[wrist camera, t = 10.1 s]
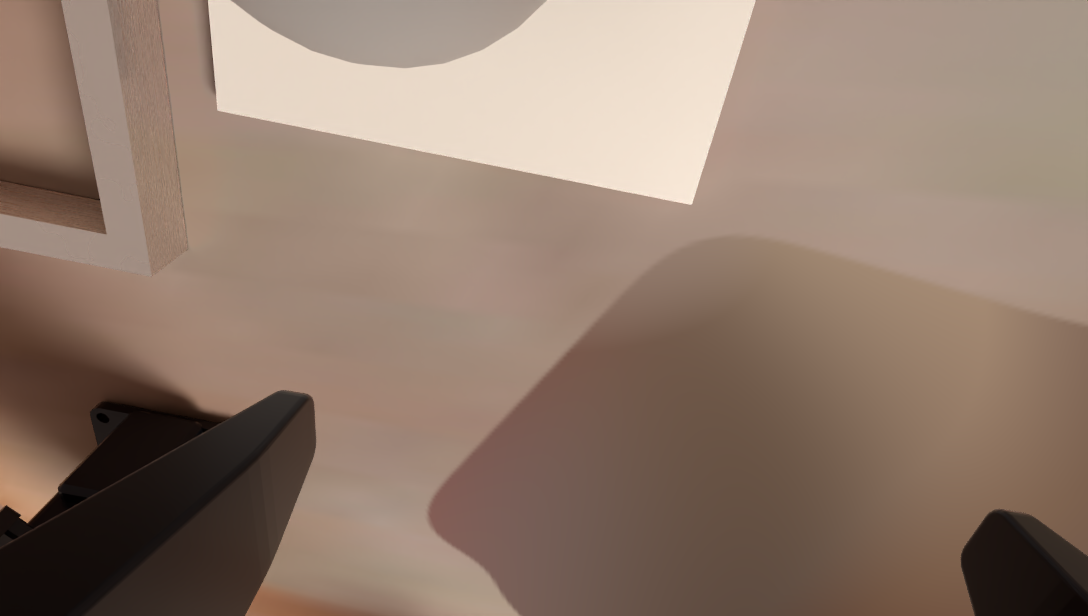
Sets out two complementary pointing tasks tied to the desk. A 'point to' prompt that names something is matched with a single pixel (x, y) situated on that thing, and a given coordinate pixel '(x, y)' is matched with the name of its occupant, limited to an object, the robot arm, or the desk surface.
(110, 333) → the desk surface
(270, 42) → the mat
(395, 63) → the lightbulb
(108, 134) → the grey flat square frame
